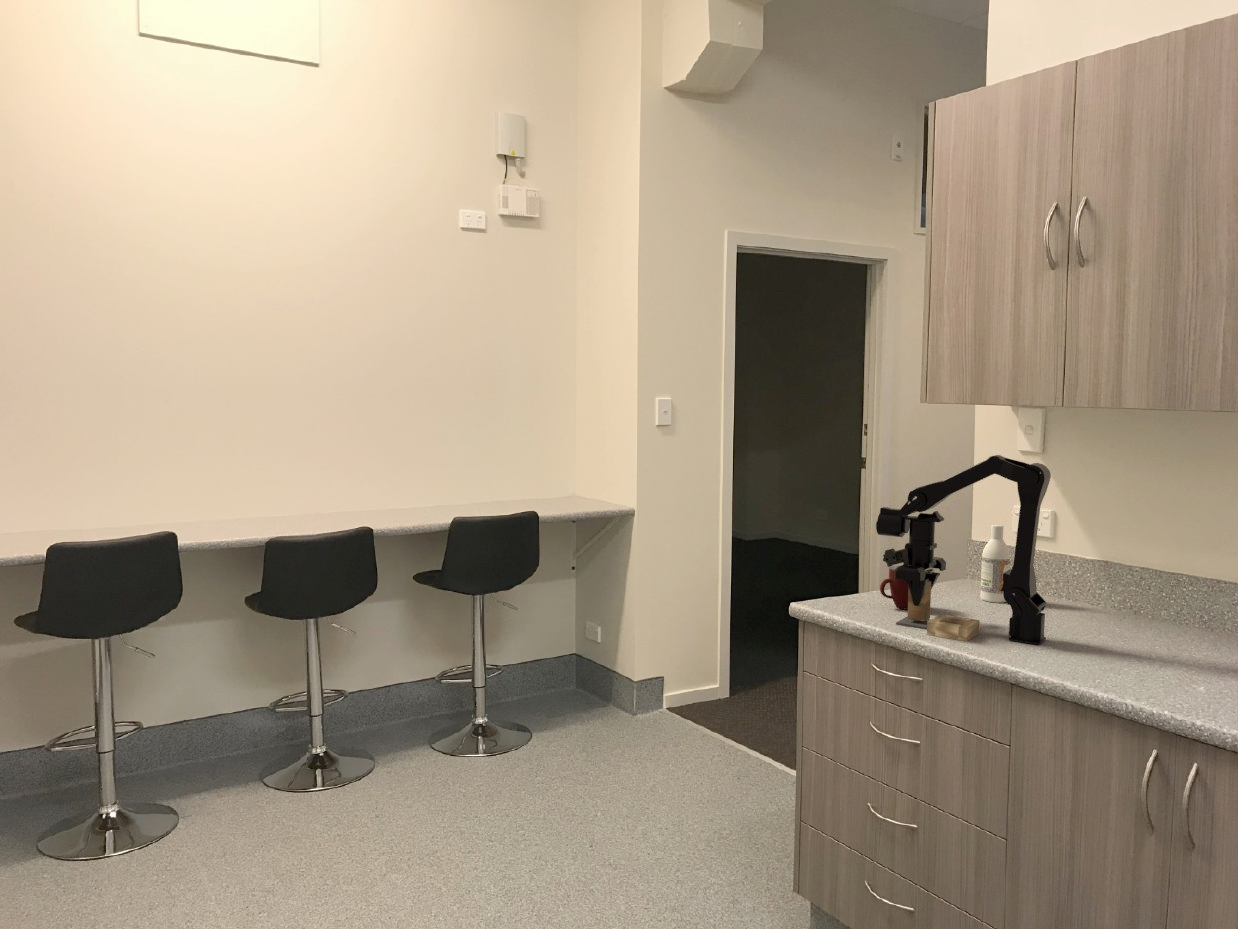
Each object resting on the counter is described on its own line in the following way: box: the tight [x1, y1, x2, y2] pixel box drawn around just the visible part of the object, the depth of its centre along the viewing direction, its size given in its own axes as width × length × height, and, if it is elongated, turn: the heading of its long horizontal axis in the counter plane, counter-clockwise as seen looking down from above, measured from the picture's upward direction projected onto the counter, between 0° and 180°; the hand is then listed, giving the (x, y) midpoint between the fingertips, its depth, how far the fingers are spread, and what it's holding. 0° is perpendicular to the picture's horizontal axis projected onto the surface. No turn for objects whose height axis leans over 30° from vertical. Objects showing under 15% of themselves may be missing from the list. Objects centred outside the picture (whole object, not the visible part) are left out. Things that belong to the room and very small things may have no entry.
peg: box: [907, 581, 932, 621], centre depth 234 cm, size 4×4×9 cm
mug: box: [879, 565, 909, 610], centre depth 250 cm, size 11×8×10 cm
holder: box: [926, 614, 980, 642], centre depth 225 cm, size 9×9×3 cm
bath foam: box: [979, 524, 1011, 604], centre depth 258 cm, size 7×7×20 cm
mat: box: [895, 615, 931, 630], centre depth 234 cm, size 8×8×1 cm
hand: (919, 604), depth 234 cm, fingers closed on peg, 4 cm apart
